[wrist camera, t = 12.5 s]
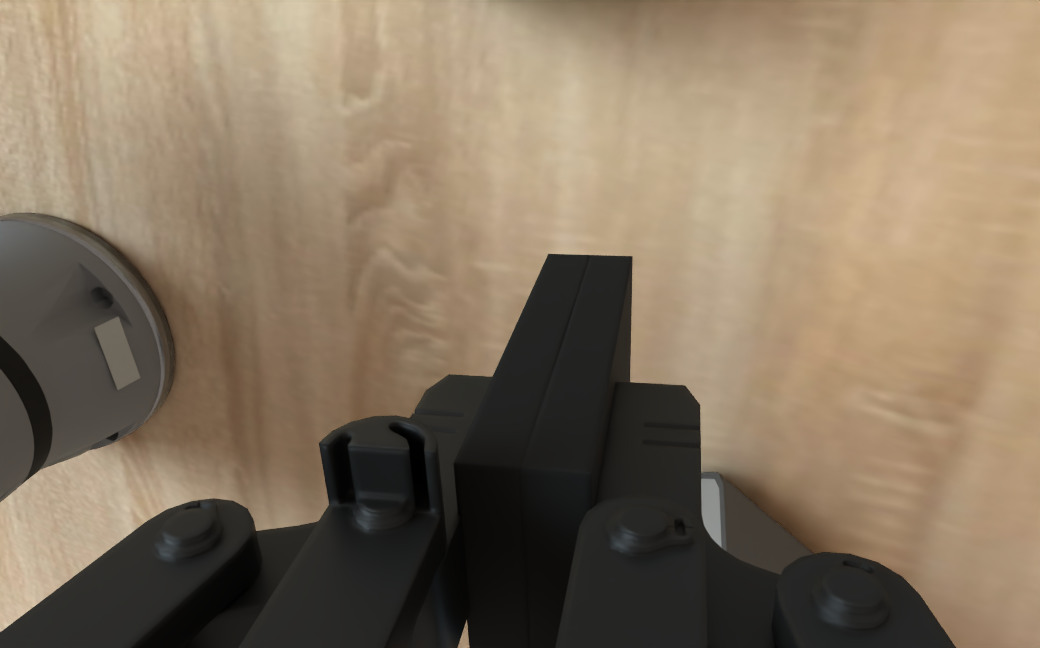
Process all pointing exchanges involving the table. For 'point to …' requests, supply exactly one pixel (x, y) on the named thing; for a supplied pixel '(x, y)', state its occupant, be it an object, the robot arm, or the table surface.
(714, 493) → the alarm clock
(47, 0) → the table surface
